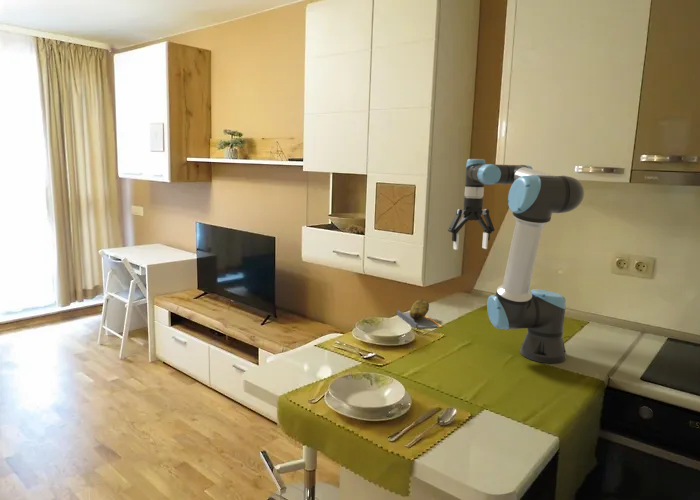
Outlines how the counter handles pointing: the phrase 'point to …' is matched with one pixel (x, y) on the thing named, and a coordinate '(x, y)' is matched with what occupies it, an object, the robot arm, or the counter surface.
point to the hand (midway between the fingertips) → (470, 248)
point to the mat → (416, 321)
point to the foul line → (433, 321)
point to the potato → (419, 309)
